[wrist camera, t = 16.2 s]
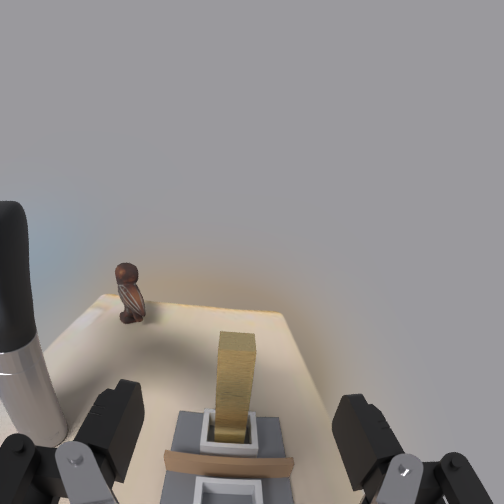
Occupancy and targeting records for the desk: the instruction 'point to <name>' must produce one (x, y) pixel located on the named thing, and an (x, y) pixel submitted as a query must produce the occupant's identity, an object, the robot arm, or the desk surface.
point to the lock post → (234, 385)
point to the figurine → (129, 293)
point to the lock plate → (226, 464)
